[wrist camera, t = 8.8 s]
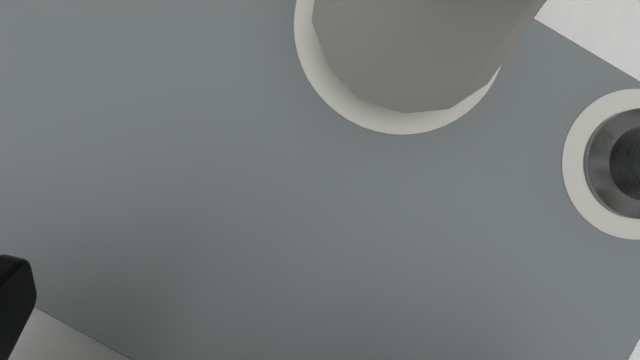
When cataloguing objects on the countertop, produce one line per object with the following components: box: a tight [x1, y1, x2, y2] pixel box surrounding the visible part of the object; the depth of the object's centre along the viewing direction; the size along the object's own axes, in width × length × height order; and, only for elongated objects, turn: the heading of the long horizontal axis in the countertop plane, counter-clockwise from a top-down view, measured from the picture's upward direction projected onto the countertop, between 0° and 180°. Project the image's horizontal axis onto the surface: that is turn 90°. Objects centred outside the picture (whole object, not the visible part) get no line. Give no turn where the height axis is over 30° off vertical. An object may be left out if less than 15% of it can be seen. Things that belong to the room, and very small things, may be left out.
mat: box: [0, 0, 640, 360], centre depth 19 cm, size 17×25×1 cm
